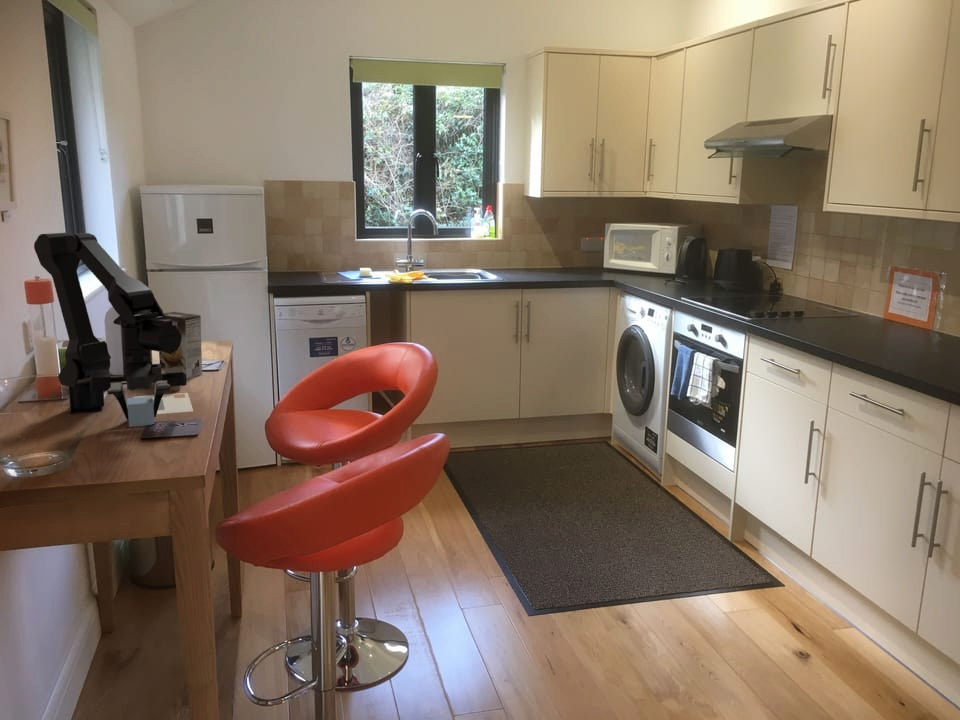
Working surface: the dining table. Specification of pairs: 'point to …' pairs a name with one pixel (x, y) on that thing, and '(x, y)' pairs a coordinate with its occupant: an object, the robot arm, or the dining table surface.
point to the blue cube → (140, 411)
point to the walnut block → (173, 388)
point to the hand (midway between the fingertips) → (141, 418)
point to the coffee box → (185, 344)
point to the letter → (173, 403)
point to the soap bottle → (114, 342)
